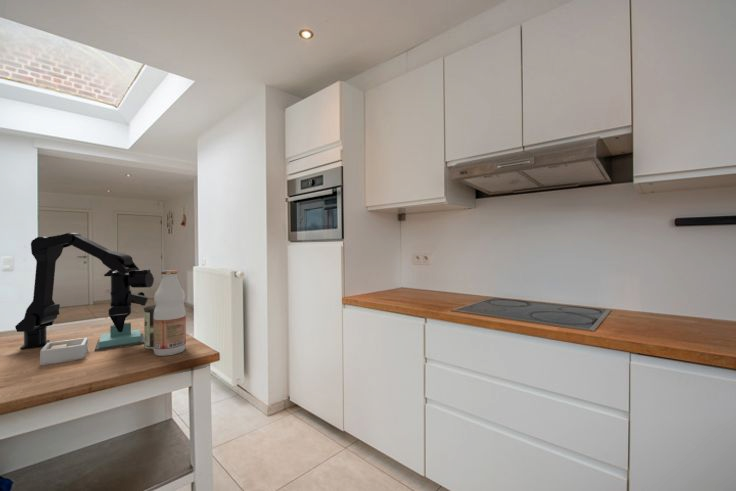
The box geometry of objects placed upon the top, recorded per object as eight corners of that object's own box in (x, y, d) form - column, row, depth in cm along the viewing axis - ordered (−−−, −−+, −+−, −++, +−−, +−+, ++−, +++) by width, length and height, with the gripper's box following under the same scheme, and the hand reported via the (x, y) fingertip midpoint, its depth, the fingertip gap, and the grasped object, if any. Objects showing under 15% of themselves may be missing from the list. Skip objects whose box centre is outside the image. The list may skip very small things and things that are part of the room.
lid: (101, 339, 120) (101, 323, 120) (140, 334, 127) (139, 319, 127) (99, 348, 110) (98, 330, 110) (140, 341, 117) (140, 325, 117)
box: (47, 356, 104) (47, 342, 104) (87, 350, 110) (87, 337, 110) (40, 365, 96) (40, 351, 96) (84, 358, 102) (84, 344, 102)
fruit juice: (147, 356, 104) (146, 271, 103) (164, 347, 113) (163, 269, 113) (176, 356, 104) (176, 271, 104) (191, 346, 113) (190, 269, 113)
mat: (98, 341, 120) (98, 339, 120) (143, 334, 128) (143, 333, 128) (94, 351, 109) (94, 349, 109) (144, 343, 117) (144, 341, 117)
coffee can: (183, 341, 120) (183, 304, 120) (161, 350, 110) (160, 310, 110) (161, 339, 122) (160, 303, 122) (136, 348, 112) (136, 308, 112)
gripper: (147, 289, 116) (147, 331, 116) (146, 283, 131) (146, 321, 131) (108, 291, 109) (108, 336, 109) (111, 285, 124) (111, 325, 124)
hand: (120, 329), depth 119 cm, fingers open, 9 cm apart
